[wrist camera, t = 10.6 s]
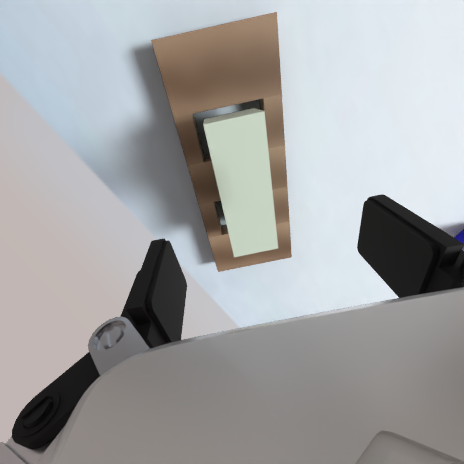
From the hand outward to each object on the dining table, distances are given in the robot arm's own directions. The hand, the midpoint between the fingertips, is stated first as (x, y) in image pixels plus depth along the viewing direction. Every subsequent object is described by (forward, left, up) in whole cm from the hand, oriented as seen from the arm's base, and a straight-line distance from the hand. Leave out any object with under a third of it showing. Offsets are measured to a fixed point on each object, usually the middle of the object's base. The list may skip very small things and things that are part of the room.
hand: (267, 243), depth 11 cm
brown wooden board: (+1, 0, -14) cm, 14 cm away
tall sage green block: (0, 0, -14) cm, 14 cm away
